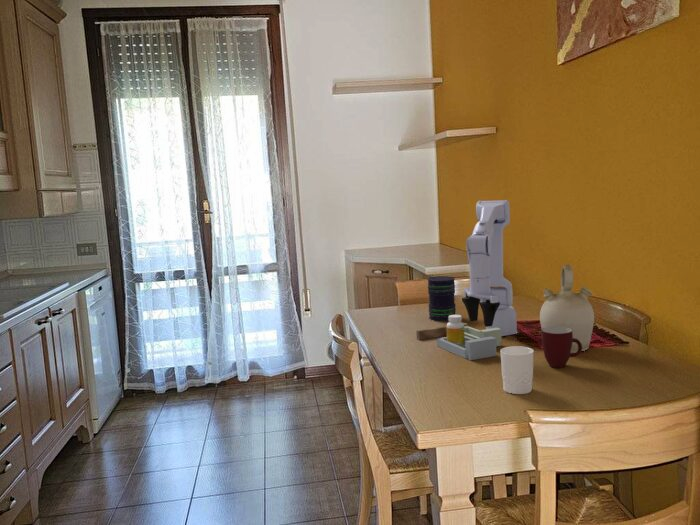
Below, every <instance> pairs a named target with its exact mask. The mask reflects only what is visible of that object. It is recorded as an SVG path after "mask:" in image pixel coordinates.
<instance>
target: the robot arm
mask: <svg viewBox="0 0 700 525" xmlns="http://www.w3.org/2000/svg"><path fill="white" fill-rule="evenodd" d="M510 207H511V206H510V201H509V200H508V199H504V200H500V199H499V200H478V201H477V202H476V205H475V213H476V216H475V217H476V219H477V220H478V222H477V223H476V224H475V225H474V228H473V230H472V234H471V235H470V236H469V237H467V238H466V242H465V243H466V246H465V250H466V253H467V261H468V264H469V288H463V296H464V297H462V298H461V302H462V303H463V304H464V306H465V309H466V312H467V315H468V319H469V322H477V321H478V319H479V306H480V309H481V312H482V315H483V317H482V318H483V324H484V327H485V329H491V328H499V329H501V337H504V336H505V337H507V336H511V335H518V334H519V331H518V330H517V328H518V326H517V312H516V309H515V308H514V307H513V302H514V301H513V300H514V293H513V292H514V291H513V284H512V282H511V281H509V279H507V278H505V277H504V229H505V227H506V226H509V225H510V222H511V213H510V212H511V208H510ZM517 333H518V334H517Z"/></svg>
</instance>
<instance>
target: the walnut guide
mask: <svg viewBox="0 0 700 525" xmlns="http://www.w3.org/2000/svg"><path fill="white" fill-rule="evenodd" d="M462 323H463V324H464V327H466V326H468V324H469V323H466V322H462ZM439 336H440V337H443V336H444V337H445V336H446V337H447V325H444V326H437V327H430V328H426V329H418V330H416V340H418V341H420V339H421V340H425V339H426V338H427V339H433V338H438V337H439ZM432 337H433V338H432ZM440 337H439V338H440ZM467 337H468V336H467ZM469 338H470V337H469ZM472 339H473V338H472Z"/></svg>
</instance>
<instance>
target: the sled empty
mask: <svg viewBox="0 0 700 525" xmlns="http://www.w3.org/2000/svg"><path fill="white" fill-rule="evenodd" d="M464 334H465V336H468V337H470V338H473V339H480V338H486V337H494V338H496V348H497V347H502V336H501V329H499V328H491V329H486V328H485V329H477V328H473V327H472V326H466V327H464Z"/></svg>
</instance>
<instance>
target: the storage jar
mask: <svg viewBox="0 0 700 525" xmlns="http://www.w3.org/2000/svg"><path fill="white" fill-rule="evenodd" d="M455 283H456V282H455V277H454V276H449V275H448V276H447V275H446V276H445V275H443V276H442V275H440V276H439V275H438V276H431V277H428V278H427V289H428V290H427V293H428V302H429V303H428V315H429V317H428V319H429V320H430V319H431V320H430V321H432V320H434V322H449V320H448V319H449V315H456V311H457V309H456V306H457V305H456V303H455V294H456V289H455V288H456V284H455Z"/></svg>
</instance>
